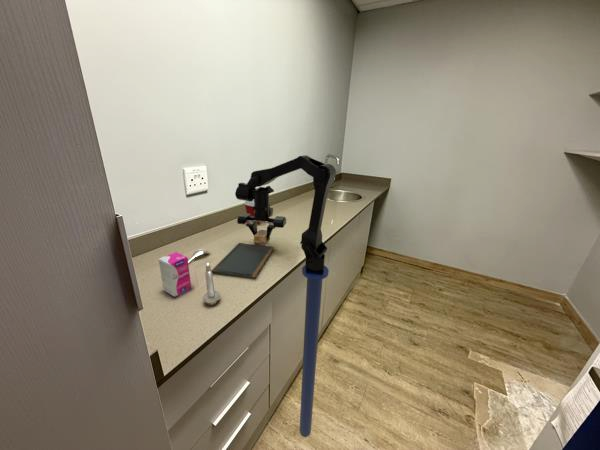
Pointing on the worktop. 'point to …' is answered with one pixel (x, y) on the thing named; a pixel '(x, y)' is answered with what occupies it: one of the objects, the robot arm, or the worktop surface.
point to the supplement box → (175, 274)
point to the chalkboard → (244, 261)
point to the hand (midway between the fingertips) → (262, 239)
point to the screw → (210, 288)
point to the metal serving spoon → (198, 253)
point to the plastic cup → (250, 208)
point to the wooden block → (261, 238)
